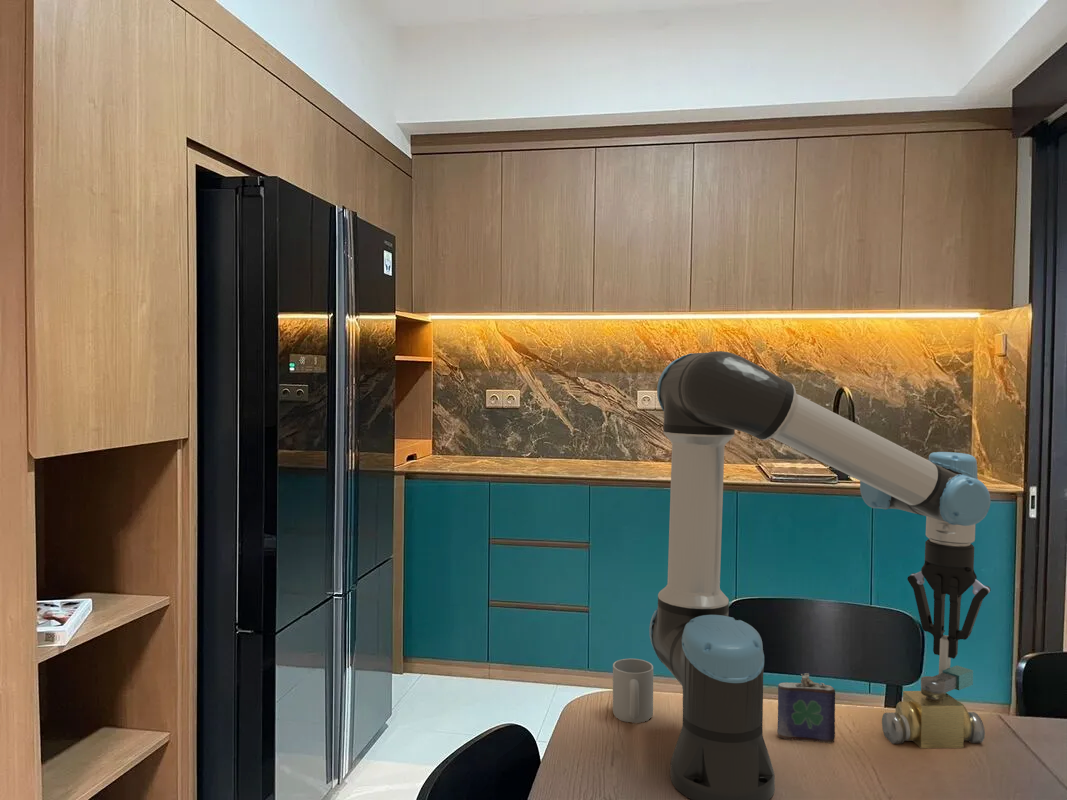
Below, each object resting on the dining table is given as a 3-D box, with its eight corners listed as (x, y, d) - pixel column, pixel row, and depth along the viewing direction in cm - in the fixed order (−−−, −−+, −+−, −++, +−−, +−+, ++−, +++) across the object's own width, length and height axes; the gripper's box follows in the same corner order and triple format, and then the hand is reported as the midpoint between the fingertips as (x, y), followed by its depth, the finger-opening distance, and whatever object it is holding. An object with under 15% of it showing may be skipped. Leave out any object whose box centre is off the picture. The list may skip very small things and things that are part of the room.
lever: (937, 700, 125) (937, 685, 125) (916, 693, 128) (916, 678, 128) (975, 685, 131) (975, 671, 131) (954, 678, 134) (954, 664, 134)
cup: (651, 707, 140) (651, 659, 140) (655, 731, 130) (656, 680, 130) (612, 705, 141) (612, 658, 141) (613, 730, 131) (613, 678, 131)
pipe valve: (897, 750, 124) (898, 703, 124) (880, 733, 130) (880, 688, 130) (986, 750, 125) (987, 703, 125) (965, 733, 131) (966, 688, 131)
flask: (778, 739, 128) (779, 676, 127) (776, 731, 130) (776, 669, 130) (836, 744, 126) (837, 680, 126) (832, 736, 129) (833, 673, 129)
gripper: (904, 538, 134) (899, 670, 135) (987, 551, 126) (981, 691, 127) (915, 532, 140) (911, 658, 141) (996, 543, 131) (990, 677, 132)
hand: (944, 674), depth 134 cm, fingers closed
